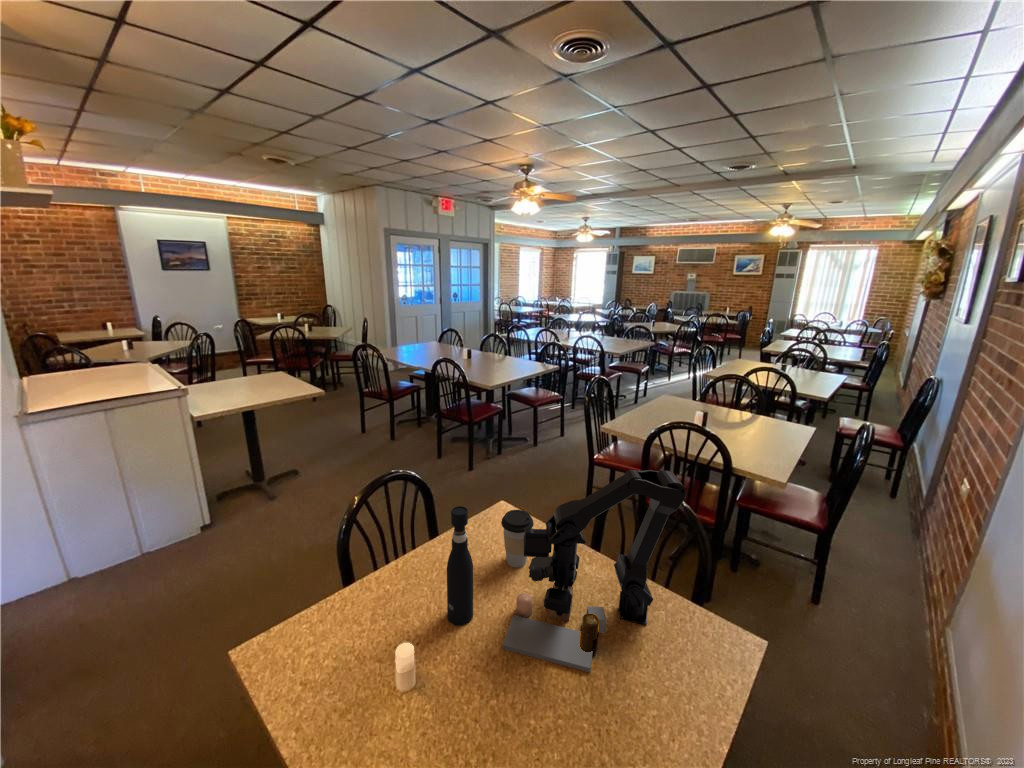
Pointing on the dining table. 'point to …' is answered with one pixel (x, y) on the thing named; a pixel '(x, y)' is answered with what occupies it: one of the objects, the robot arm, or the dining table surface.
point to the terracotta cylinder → (524, 605)
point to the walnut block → (564, 615)
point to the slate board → (547, 643)
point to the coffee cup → (515, 535)
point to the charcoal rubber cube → (600, 614)
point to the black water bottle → (459, 572)
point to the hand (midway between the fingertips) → (561, 607)
